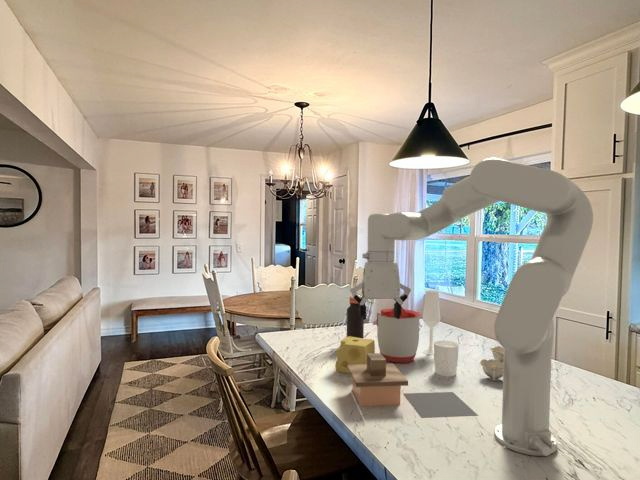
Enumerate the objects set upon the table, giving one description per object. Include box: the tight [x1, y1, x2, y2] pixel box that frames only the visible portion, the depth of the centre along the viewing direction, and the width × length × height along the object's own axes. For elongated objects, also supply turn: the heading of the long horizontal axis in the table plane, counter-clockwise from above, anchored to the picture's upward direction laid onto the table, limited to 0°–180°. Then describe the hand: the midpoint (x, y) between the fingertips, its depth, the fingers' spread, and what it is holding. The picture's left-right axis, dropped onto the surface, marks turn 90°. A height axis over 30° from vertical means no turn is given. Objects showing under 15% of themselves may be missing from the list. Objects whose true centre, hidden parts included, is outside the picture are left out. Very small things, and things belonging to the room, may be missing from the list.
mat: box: [403, 391, 479, 419], centre depth 111 cm, size 15×15×1 cm
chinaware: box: [480, 345, 505, 382], centre depth 136 cm, size 28×17×17 cm, turn 152°
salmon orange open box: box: [351, 380, 402, 407], centre depth 115 cm, size 11×11×6 cm
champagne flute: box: [421, 289, 442, 356], centre depth 158 cm, size 7×7×24 cm
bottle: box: [346, 295, 365, 338], centre depth 165 cm, size 7×7×20 cm
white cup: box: [433, 340, 460, 377], centre depth 135 cm, size 8×8×10 cm
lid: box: [347, 352, 409, 387], centre depth 115 cm, size 14×14×6 cm
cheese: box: [334, 336, 376, 375], centre depth 137 cm, size 10×11×10 cm
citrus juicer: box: [372, 306, 421, 364], centre depth 150 cm, size 16×17×20 cm
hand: (380, 318), depth 115 cm, fingers open, 9 cm apart
